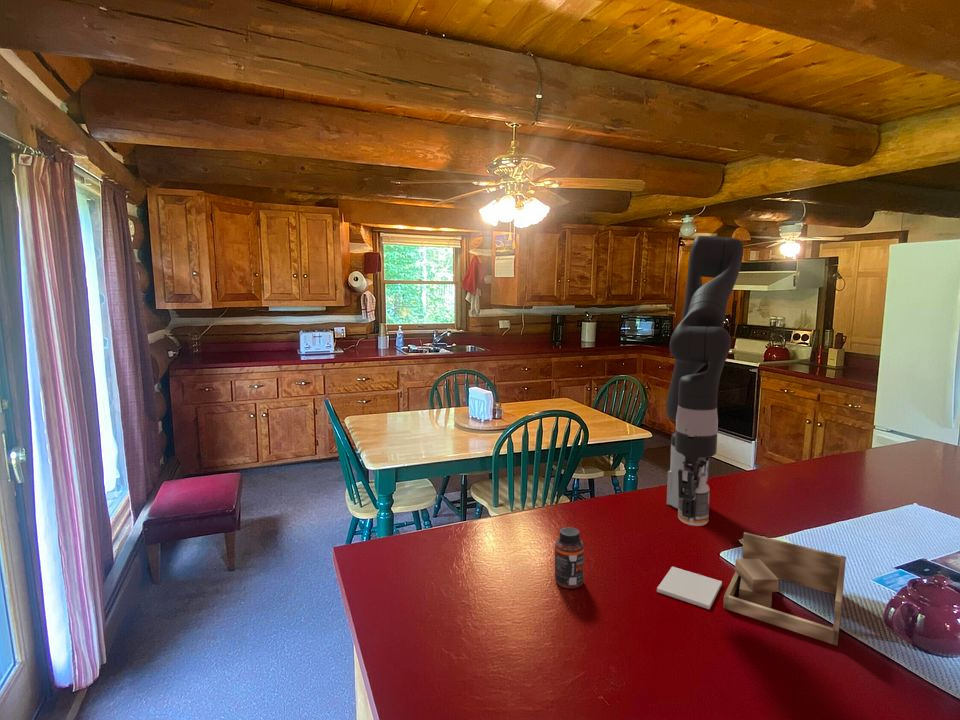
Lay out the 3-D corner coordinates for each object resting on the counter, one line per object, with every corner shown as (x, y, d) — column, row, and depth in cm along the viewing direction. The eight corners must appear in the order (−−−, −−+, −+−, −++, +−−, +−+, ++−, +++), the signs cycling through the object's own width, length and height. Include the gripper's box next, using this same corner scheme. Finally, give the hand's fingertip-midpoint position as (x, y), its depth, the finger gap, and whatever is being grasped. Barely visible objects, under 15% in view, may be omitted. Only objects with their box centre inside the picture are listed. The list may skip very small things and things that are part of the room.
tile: (656, 591, 105) (656, 588, 105) (672, 569, 113) (672, 566, 112) (709, 609, 99) (709, 605, 99) (721, 585, 107) (722, 581, 106)
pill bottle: (707, 516, 105) (709, 469, 104) (709, 528, 100) (711, 479, 99) (677, 512, 107) (678, 466, 106) (677, 524, 102) (679, 476, 100)
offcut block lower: (738, 603, 101) (739, 588, 101) (741, 580, 109) (742, 566, 108) (770, 611, 98) (771, 596, 98) (772, 587, 106) (772, 573, 106)
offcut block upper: (752, 591, 100) (753, 579, 99) (735, 570, 107) (735, 558, 107) (778, 591, 100) (778, 579, 99) (758, 570, 107) (759, 558, 107)
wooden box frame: (723, 608, 99) (725, 569, 98) (742, 566, 113) (744, 532, 112) (837, 645, 88) (841, 602, 87) (842, 594, 103) (846, 556, 101)
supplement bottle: (581, 592, 105) (581, 540, 103) (552, 587, 107) (552, 535, 105) (585, 577, 110) (586, 527, 109) (558, 572, 113) (558, 523, 111)
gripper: (686, 418, 109) (684, 494, 111) (664, 434, 97) (662, 519, 100) (725, 423, 104) (721, 502, 107) (707, 441, 93) (703, 530, 95)
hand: (693, 510), depth 103 cm, fingers closed on pill bottle, 5 cm apart
